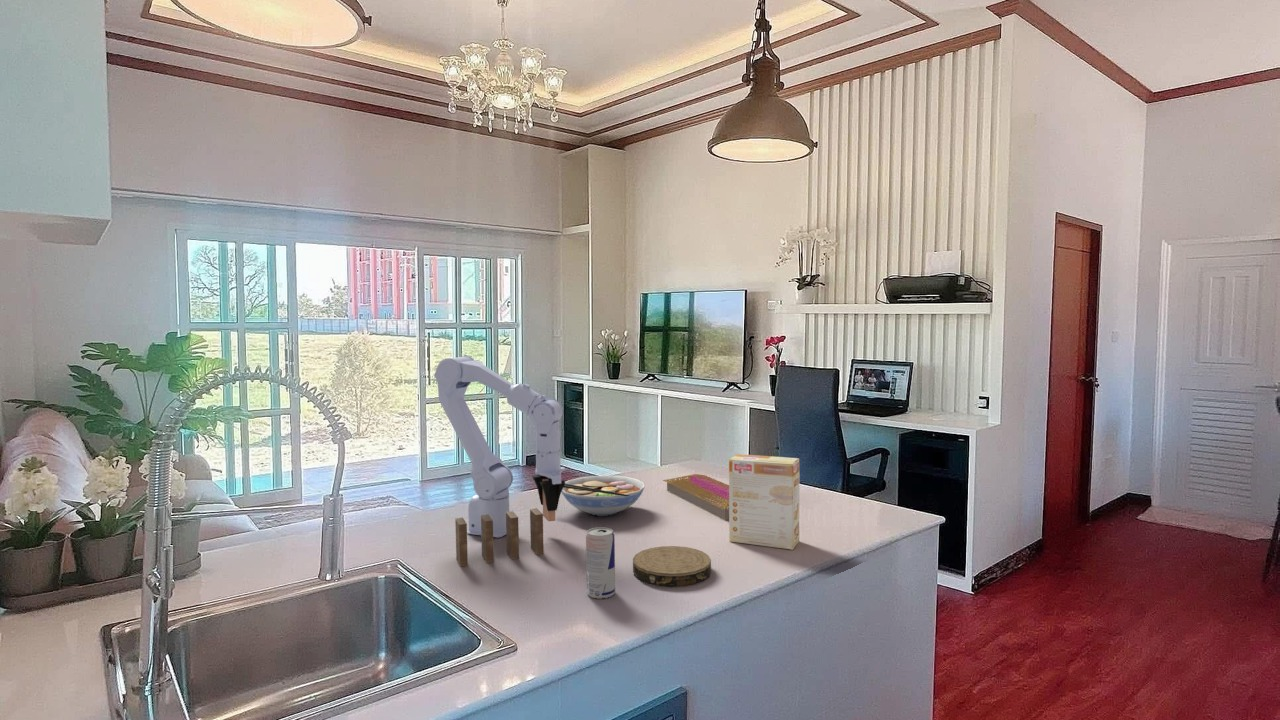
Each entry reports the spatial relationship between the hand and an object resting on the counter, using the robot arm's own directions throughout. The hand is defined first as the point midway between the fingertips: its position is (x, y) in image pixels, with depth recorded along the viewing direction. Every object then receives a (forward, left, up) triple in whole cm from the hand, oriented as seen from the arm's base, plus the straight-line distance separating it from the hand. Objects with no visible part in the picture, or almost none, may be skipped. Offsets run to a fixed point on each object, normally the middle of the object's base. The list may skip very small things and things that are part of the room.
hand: (548, 507), depth 164 cm
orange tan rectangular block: (0, 0, -3) cm, 3 cm away
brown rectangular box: (+29, +42, -8) cm, 52 cm away
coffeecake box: (+49, +13, -7) cm, 51 cm away
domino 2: (-5, -18, -7) cm, 20 cm away
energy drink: (+26, -27, -7) cm, 38 cm away
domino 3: (-1, -14, -7) cm, 16 cm away
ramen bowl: (+4, +22, -7) cm, 24 cm away
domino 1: (-9, -22, -7) cm, 25 cm away
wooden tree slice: (+35, -12, -8) cm, 38 cm away
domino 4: (+3, -10, -7) cm, 13 cm away
